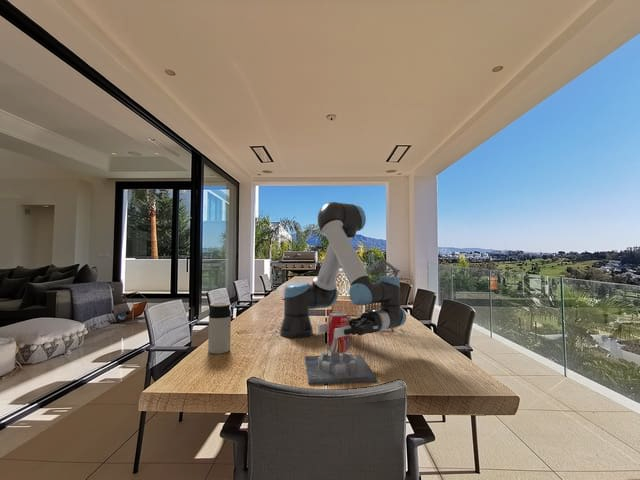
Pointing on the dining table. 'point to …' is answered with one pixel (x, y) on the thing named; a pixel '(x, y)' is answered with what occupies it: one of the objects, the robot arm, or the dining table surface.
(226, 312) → the travel mug
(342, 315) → the soda can
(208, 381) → the dining table surface
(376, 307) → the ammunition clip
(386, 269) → the geometric lantern
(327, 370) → the square lugged base plate
